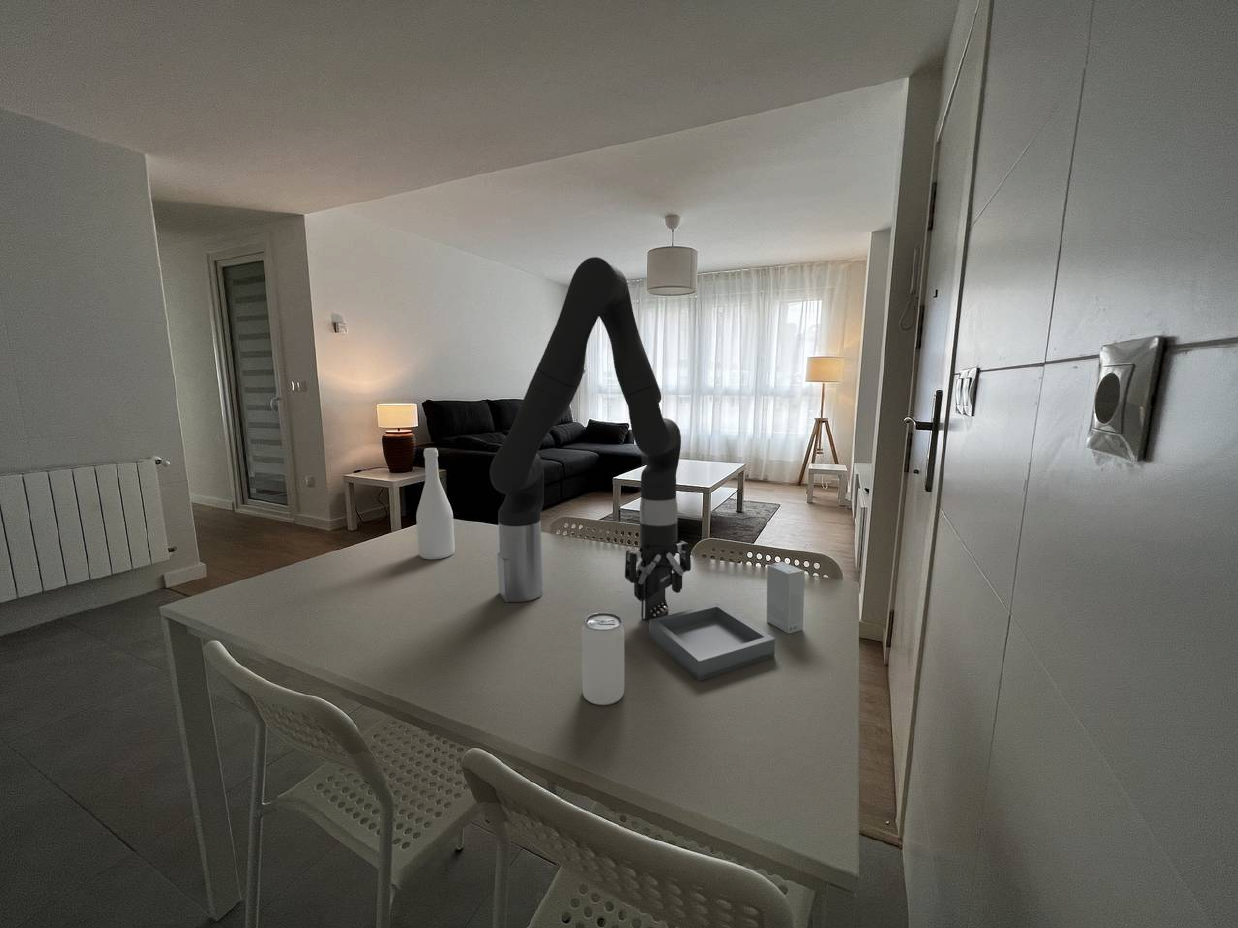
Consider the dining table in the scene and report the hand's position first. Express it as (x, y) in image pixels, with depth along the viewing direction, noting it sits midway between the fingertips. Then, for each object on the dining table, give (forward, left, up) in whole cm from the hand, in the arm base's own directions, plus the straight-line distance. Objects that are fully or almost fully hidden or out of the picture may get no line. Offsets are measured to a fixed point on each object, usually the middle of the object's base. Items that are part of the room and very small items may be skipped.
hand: (658, 595), depth 102 cm
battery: (0, 0, -5) cm, 5 cm away
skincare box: (+20, -15, -5) cm, 25 cm away
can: (-21, -19, -5) cm, 29 cm away
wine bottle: (-36, +60, -5) cm, 70 cm away
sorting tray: (+2, -15, -4) cm, 16 cm away
